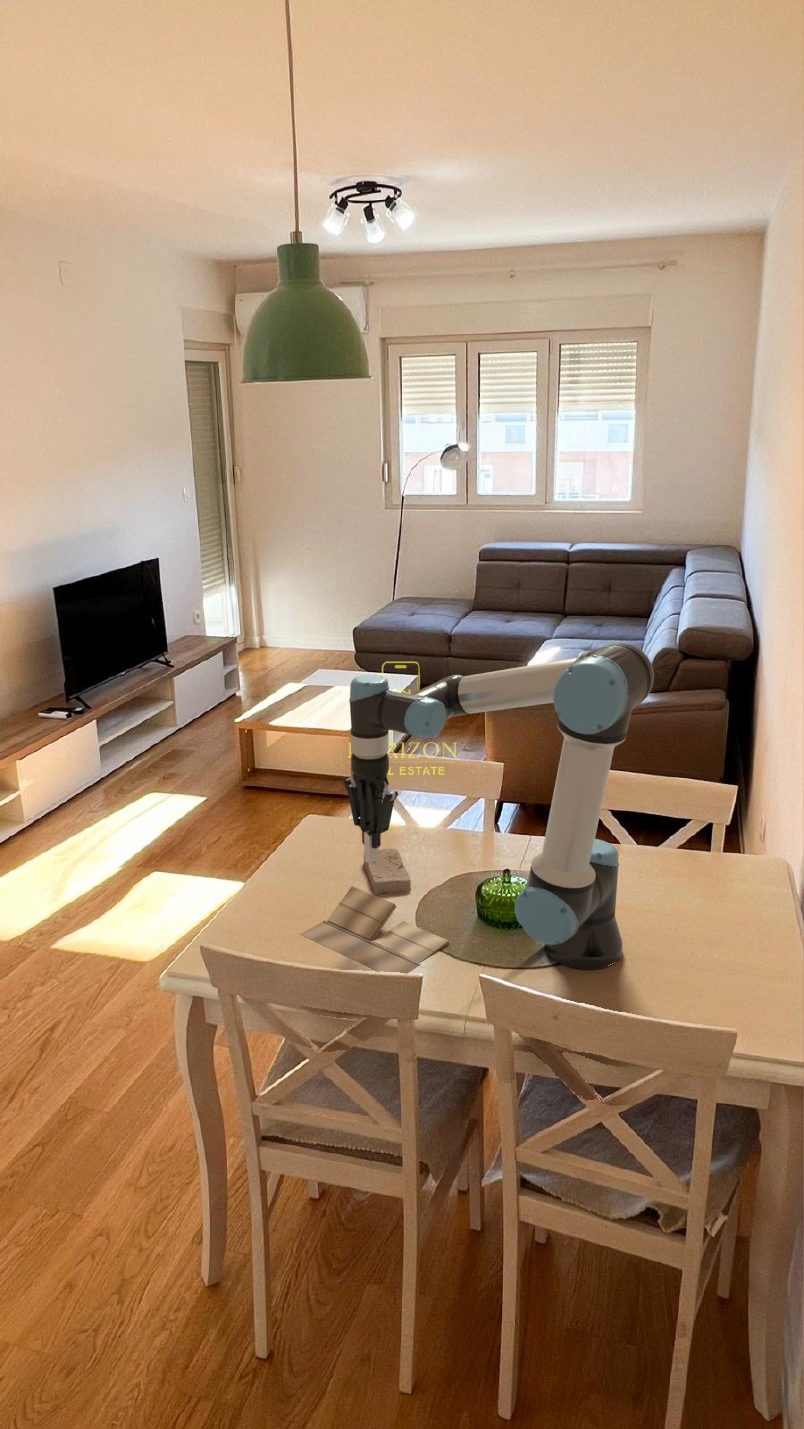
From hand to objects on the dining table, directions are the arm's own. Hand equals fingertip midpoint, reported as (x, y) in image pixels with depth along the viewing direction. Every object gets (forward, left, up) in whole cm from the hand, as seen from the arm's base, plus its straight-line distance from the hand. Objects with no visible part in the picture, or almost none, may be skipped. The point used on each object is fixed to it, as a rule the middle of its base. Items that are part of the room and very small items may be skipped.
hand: (371, 860), depth 205 cm
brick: (+10, -16, -15) cm, 24 cm away
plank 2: (-13, +3, -14) cm, 19 cm away
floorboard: (-7, +11, -14) cm, 19 cm away
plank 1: (0, +3, -11) cm, 12 cm away
